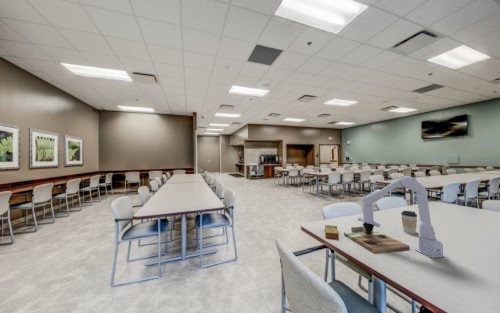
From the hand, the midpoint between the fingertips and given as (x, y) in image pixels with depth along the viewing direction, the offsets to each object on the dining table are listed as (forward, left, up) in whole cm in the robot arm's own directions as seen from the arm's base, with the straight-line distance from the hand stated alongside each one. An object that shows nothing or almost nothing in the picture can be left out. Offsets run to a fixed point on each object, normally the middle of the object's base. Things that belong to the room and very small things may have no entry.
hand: (368, 234), depth 124 cm
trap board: (-4, 0, -3) cm, 5 cm away
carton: (+12, +20, -4) cm, 23 cm away
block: (+4, -3, -1) cm, 5 cm away
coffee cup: (+5, -38, -3) cm, 38 cm away
